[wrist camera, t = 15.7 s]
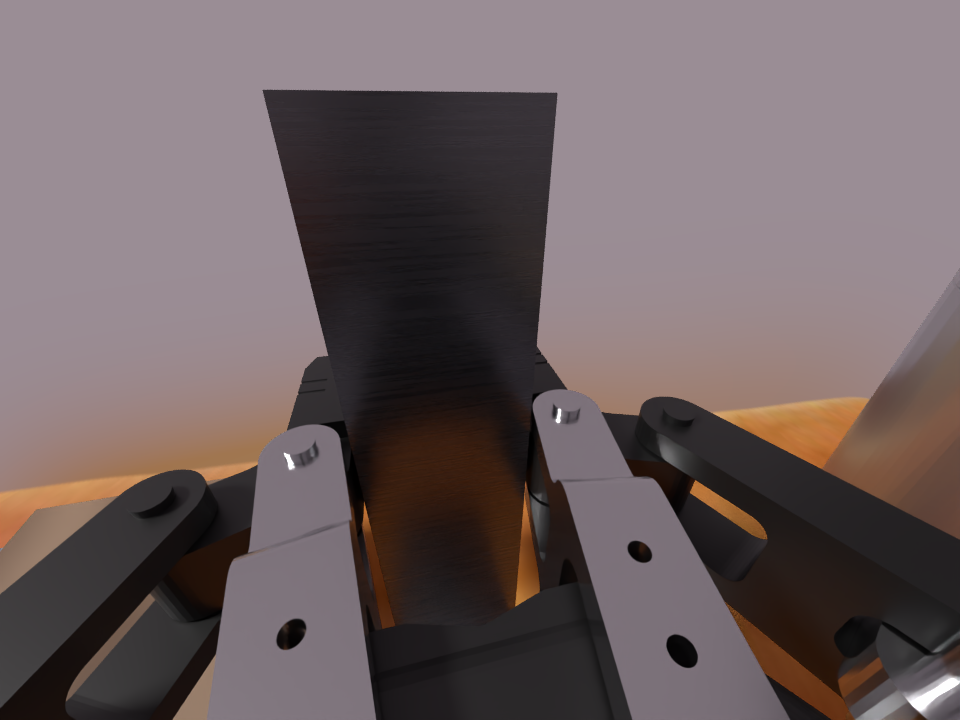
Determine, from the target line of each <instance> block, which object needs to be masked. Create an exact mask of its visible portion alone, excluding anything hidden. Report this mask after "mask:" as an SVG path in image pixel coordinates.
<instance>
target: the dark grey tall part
mask: <svg viewBox="0 0 960 720" xmlns="http://www.w3.org/2000/svg"><path fill="white" fill-rule="evenodd" d="M263 93H264V98H265V102H266V106H267V110H268V114H269V118H270V122H271V126H272V130H273V134H274V138H275V142H276V146H277V150H278V154H279V158H280V162H281V166H282V170H283V174H284V178H285V182H286V187H287V190H288V194H289V199H290V203H291V207H292V211H293V215H294V219H295V223H296V227H297V231H298V235H299V239H300V243H301V247H302V251H303V255H304V259H305V263H306V267H307V271H308V275H309V279H310V283H311V288H312V291H313V296H314V300H315V304H316V308H317V312H318V315H319V320H320V324H321V328H322V332H323V336H324V340H325V344H326V348H327V352H328V356H329V360H330V364H331V368H332V372H333V376H334V380H335V384H336V389H337V393H338V397H339V401H340V405H341V409H342V413H343V417H344V421H345V425H346V429H347V433H348V437H349V441H350V445H351V449H352V453H353V457H354V461H355V465H356V469H357V473H358V477H359V481H360V485H361V489H362V494H363V498H364V502H365V506H366V510H367V514H368V518H369V522H370V526H371V530H372V534H373V538H374V542H375V546H376V550H377V554H378V558H379V562H380V566H381V570H382V574H383V578H384V582H385V586H386V590H387V595H388V599H389V603H390V607H391V611H392V615H393V619H394V623H395V626H398V625H402V624H427V625H451V626H481V625H484V624H487V623H489V622H490V621H492V620H494V619H495V618H497V617H499V616H500V615H502V614H504V613H506V612H507V611H509V610H511V609H512V608H514V607H515V601H516V589H517V577H518V565H519V553H520V541H521V528H522V516H523V504H524V492H525V480H526V468H527V456H528V443H529V431H530V419H531V407H532V395H533V383H534V371H535V359H536V346H537V333H538V322H539V309H540V298H541V286H542V274H543V262H544V260H543V259H544V249H545V237H546V224H547V213H548V201H549V189H550V177H551V165H552V152H553V139H554V128H555V116H556V104H557V93H519V92H422V91H421V92H420V91H415V92H414V91H325V90H324V91H323V90H322V91H321V90H263Z"/></svg>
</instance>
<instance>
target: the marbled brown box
mask: <svg viewBox="0 0 960 720" xmlns="http://www.w3.org/2000/svg"><path fill="white" fill-rule="evenodd" d="M224 479H225V478H224ZM220 480H223V479H218V480H212V481H206V483H207V484H208V485H209V484H212V483H215V482H217V481H220ZM117 497H118V496H116V497H110V498H104V499H98V500H92V501H86V502H80V503H74V504H68V505H62V506H56V507H50V508H44V509H37V510H36V511H35V512H34V513H33V514H32V515H31V516H30V517H29V519H28V520H27V521H26V522H25V523H24V524H23V526H22V527H21V528H20V529H19V530H18V531H17V532H16V534H15V535H14V536H13V537H12V538H11V539H10V541H9V542H8V543H7V544H6V545H5V546H4V547H3V549H2V550H1V551H0V594H1V593H2V592H3V591H5V590H6V589H7V588H8V587H9V586H11V585H12V584H13V583H14V582H15V581H17V580H18V579H19V578H20V577H21V576H23V575H24V574H25V573H26V572H27V571H29V570H30V569H31V568H32V567H33V566H35V565H36V564H37V563H38V562H40V561H41V560H42V559H43V558H44V557H46V556H47V555H48V554H49V553H50V552H52V551H53V550H54V549H55V548H56V547H58V546H59V545H60V544H61V543H62V542H64V541H65V540H66V539H67V538H68V537H70V536H71V535H72V534H73V533H75V532H76V531H77V530H78V529H79V528H81V527H82V526H83V525H84V524H85V523H87V522H88V521H89V520H90V519H91V518H93V517H94V516H95V515H96V514H97V513H99V512H100V511H101V510H102V509H103V508H105V507H106V506H107V505H108V504H109V503H111V502H112V501H113V500H114V499H116V498H117ZM154 601H155V599H154V598H153V597H152V596H151V594H149V595H148V596H147V597H146V598H145V599H144V600H143V602H142V603H141V604H140V605H139V606H138V607H137V608H136V609H135V610H134V612H133V613H132V614H131V615H130V616H129V617H128V618H127V619H126V621H125V622H124V623H123V624H122V625H121V626H120V627H119V628H118V630H117V631H116V632H115V633H114V634H113V635H112V636H111V637H110V639H109V640H108V641H107V642H106V643H105V644H104V645H103V646H102V648H101V649H100V650H99V651H98V652H97V653H96V654H95V655H94V657H93V658H92V659H91V660H90V661H89V662H88V663H87V664H86V666H85V667H84V668H83V669H82V670H81V672H80V673H79V674H78V676H77V677H76V679H75V680H74V682H73V684H72V685H71V687H70V690H69V692H68V695H67V698H66V701H67V700H68V699H69V698H70V697H71V696H72V695H73V694H74V693H75V692H76V691H77V690H78V688H79V687H80V686H81V685H82V684H83V683H84V681H85V680H86V679H87V678H88V677H89V676H90V675H91V673H92V672H93V671H94V670H95V669H96V668H97V666H98V665H99V664H100V663H101V662H102V661H103V660H104V658H105V657H106V656H107V655H108V654H109V653H110V651H111V650H112V649H113V648H114V647H115V646H116V645H117V643H118V642H119V641H120V640H121V639H122V638H123V636H124V635H125V634H126V633H127V632H128V631H129V630H130V628H131V627H132V626H133V625H134V624H135V623H136V621H137V620H138V619H139V618H140V617H141V616H142V615H143V613H144V612H145V611H146V610H147V609H148V608H149V606H150V605H151V604H152V603H153V602H154ZM215 659H216V655H215V657H214V658H213V660H212V661H211V663H210V664H209V666H208V667H207V669H206V670H205V672H204V673H203V675H202V676H201V678H200V679H199V681H198V682H197V684H196V685H195V687H194V688H193V690H192V691H191V693H190V694H189V696H188V697H187V699H186V700H185V702H184V703H183V705H182V706H181V708H180V709H179V711H178V712H177V714H176V715H175V717H174V718H173V720H207V714H208V707H209V700H210V693H211V686H212V679H213V672H214V666H215Z"/></svg>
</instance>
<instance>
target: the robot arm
mask: <svg viewBox="0 0 960 720" xmlns="http://www.w3.org/2000/svg"><path fill="white" fill-rule="evenodd" d="M298 394H299V395H297V398H296V402H295V405H294V409H293V412H292V415H291V418H290V422H289V425H288V429H287V431H286V432H284V433H282V434H280V435H278V436H277V437H275V438H274V439H273V440H272V441H270V442H269V443H268V444H267V445H266V446H265V448H264V449H263V451H262V452H261V454H260V456H259V460H258V465H256V466H254V467H253V468H251V469H248V470H246V471H244V472H241V473H239V474H236V475H233V476H231V477H228V478H225V479H223V480H220V481H217V482H215V483H212V484H209V485H208V484H207V483H206V481H205V479H204V477H203V476H202V475H201V474H199V473H198V472H196V471H192V470H173V471H168V472H164V473H160V474H158V475H155V476H152V477H150V478H147V479H145V480H143V481H141V482H139V483H137V484H135V485H134V486H132V487H131V488H129V489H127V490H126V491H125V492H123V493H122V494H121V495H119V496H118V497H117V498H116V499H114V500H113V501H112V502H111V503H109V504H108V505H107V506H106V507H105V508H103V509H102V510H101V511H100V512H99V513H97V514H96V515H95V516H94V517H93V518H91V519H90V520H89V521H88V522H87V523H85V524H84V525H83V526H82V527H81V528H79V529H78V530H77V531H76V532H75V533H73V534H72V535H71V536H70V537H68V538H67V539H66V540H65V541H64V542H62V543H61V544H60V545H59V546H58V547H56V548H55V549H54V550H53V551H52V552H50V553H49V554H48V555H47V556H46V557H44V558H43V559H42V560H41V561H40V562H38V563H37V564H36V565H35V566H33V567H32V568H31V569H30V570H29V571H27V572H26V573H25V574H24V575H23V576H21V577H20V578H19V579H18V580H17V581H15V582H14V583H13V584H12V585H11V586H9V587H8V588H7V589H6V590H5V591H3V592H2V593H1V594H0V720H173V718H174V717H175V715H176V714H177V712H178V711H179V709H180V708H181V706H182V705H183V703H184V702H185V700H186V699H187V697H188V696H189V694H190V693H191V691H192V690H193V688H194V687H195V685H196V684H197V682H198V681H199V679H200V678H201V676H202V675H203V673H204V672H205V670H206V669H207V667H208V666H209V664H210V663H211V661H212V660H213V658H214V657H215V655H216V659H215V666H214V672H213V679H212V686H211V693H210V700H209V707H208V714H207V720H831V719H830V718H828V717H827V716H825V715H824V714H823V713H821V712H820V711H818V710H817V709H815V708H814V707H812V706H811V705H809V704H808V703H807V702H805V701H804V700H802V699H801V698H799V697H798V696H796V695H795V694H794V693H792V692H791V691H789V690H788V689H786V688H785V687H783V686H782V685H781V684H779V683H778V682H776V681H775V680H773V679H772V678H770V677H769V676H767V675H766V674H765V673H764V672H763V670H762V668H761V667H760V665H759V663H758V661H757V659H756V658H755V656H754V654H753V652H752V650H751V649H750V647H749V645H748V643H747V641H746V640H745V638H744V636H743V634H742V632H741V631H740V629H739V627H738V625H737V624H736V622H735V620H734V618H733V616H732V615H731V613H730V611H729V609H728V607H727V606H726V604H725V602H726V603H727V604H729V605H730V606H731V607H732V608H734V609H735V610H736V611H737V612H738V613H740V614H741V615H742V616H743V617H744V618H746V619H747V620H748V621H749V622H751V623H752V624H753V625H754V626H755V627H757V628H758V629H759V630H760V631H761V632H763V633H764V634H765V635H766V636H768V637H769V638H770V639H771V640H772V641H774V642H775V643H776V644H777V645H778V646H780V647H781V648H782V649H783V650H785V651H786V652H787V653H788V654H789V655H791V656H792V657H793V658H794V659H795V660H797V661H798V662H799V663H800V664H802V665H803V666H804V667H805V668H806V669H808V670H809V671H810V672H811V673H812V674H814V675H815V676H816V677H817V678H819V679H820V680H821V681H822V682H823V683H825V684H826V685H827V686H828V687H829V688H831V689H832V690H833V691H834V692H836V693H837V694H838V695H839V696H840V697H842V698H843V699H844V701H845V703H846V705H847V707H848V709H849V711H848V713H847V715H846V720H960V269H959V270H958V272H957V273H956V275H955V276H954V278H953V280H952V281H951V282H950V284H949V285H948V287H947V288H946V290H945V291H944V293H943V294H942V296H941V297H940V298H939V300H938V301H937V303H936V304H935V306H934V307H933V309H932V310H931V311H930V313H929V315H928V316H927V317H926V319H925V320H924V322H923V323H922V325H921V326H920V328H919V329H918V330H917V332H916V333H915V335H914V336H913V338H912V339H911V340H910V342H909V343H908V345H907V346H906V348H905V349H904V351H903V352H902V354H901V355H900V357H899V358H898V359H897V361H896V362H895V364H894V365H893V367H892V368H891V370H890V371H889V373H888V374H887V375H886V377H885V378H884V380H883V381H882V383H881V384H880V385H879V387H878V389H877V390H876V391H875V393H874V395H873V396H872V397H871V399H870V400H869V401H868V403H867V404H866V406H865V407H864V409H863V410H862V412H861V413H860V414H859V416H858V417H857V419H856V420H855V422H854V423H853V425H852V426H851V428H850V429H849V430H848V432H847V433H846V435H845V436H844V438H843V439H842V441H841V442H840V444H839V445H838V446H837V448H836V449H835V451H834V452H833V454H832V455H831V456H830V458H829V459H828V461H827V462H826V464H825V465H824V467H823V468H822V469H820V468H818V467H816V466H814V465H812V464H810V463H809V462H807V461H805V460H803V459H801V458H799V457H797V456H795V455H793V454H791V453H789V452H787V451H785V450H783V449H781V448H779V447H777V446H775V445H773V444H771V443H769V442H767V441H765V440H763V439H761V438H759V437H758V436H756V435H754V434H752V433H750V432H748V431H746V430H744V429H742V428H740V427H738V426H736V425H734V424H732V423H730V422H728V421H726V420H724V419H722V418H720V417H718V416H716V415H714V414H712V413H710V412H708V411H707V410H704V409H703V408H701V407H699V406H697V405H694V404H693V403H690V402H688V401H685V400H682V399H678V398H673V397H655V398H651V399H649V400H647V401H645V402H644V403H643V405H642V407H641V410H640V413H639V416H636V415H623V414H611V413H604V412H601V411H600V409H599V407H598V405H597V404H596V403H595V402H594V401H593V400H592V399H590V398H589V397H587V396H586V395H584V394H581V393H579V392H575V391H571V390H567V388H566V387H565V386H564V384H563V383H562V381H561V380H560V378H559V377H558V376H557V374H556V373H555V371H554V370H553V369H552V367H551V366H550V364H549V363H547V360H546V359H545V357H544V356H543V355H541V352H540V350H539V349H538V347H537V346H536V359H535V371H534V383H533V395H532V407H531V419H530V431H529V443H528V456H527V468H526V480H525V481H526V489H525V500H526V505H527V511H528V516H529V522H530V527H531V533H532V539H533V544H534V550H535V555H536V561H537V566H538V572H539V582H540V592H539V593H538V594H536V595H534V596H533V597H531V598H529V599H528V600H526V601H524V602H522V603H521V604H519V605H517V606H516V607H514V608H512V609H511V610H509V611H507V612H506V613H504V614H502V615H500V616H499V617H497V618H495V619H494V620H492V621H490V622H489V623H487V624H484V625H481V626H451V625H427V624H402V625H398V626H394V627H390V628H386V629H382V626H381V622H380V617H379V612H378V606H377V601H376V595H375V589H374V584H373V578H372V572H371V567H370V561H369V555H368V549H367V544H366V538H365V532H364V528H363V524H362V523H363V514H364V498H363V494H362V489H361V485H360V481H359V477H358V473H357V469H356V465H355V461H354V457H353V453H352V449H351V445H350V441H349V437H348V433H347V429H346V425H345V421H344V417H343V413H342V409H341V405H340V401H339V397H338V393H337V389H336V384H335V380H334V376H333V372H332V368H331V364H330V360H329V356H324V357H317V358H316V359H315V360H314V361H313V362H312V363H311V364H310V365H309V366H308V367H307V368H306V369H305V371H304V375H303V378H302V384H301V385H300V388H299V391H298ZM695 480H696V481H698V482H700V483H701V484H703V485H704V486H706V487H707V488H709V489H710V490H712V491H713V492H715V493H717V494H718V495H720V496H721V497H723V498H724V499H726V500H727V501H729V502H730V503H732V504H734V505H735V506H737V507H738V508H740V509H741V510H743V511H744V512H746V513H748V514H749V515H751V516H752V517H753V518H755V519H756V520H757V521H758V522H759V523H760V524H761V525H762V527H763V528H764V530H765V531H766V534H767V538H768V540H765V539H760V538H757V537H755V536H753V535H751V534H749V533H748V532H747V531H745V530H744V529H742V528H741V527H739V526H738V525H736V524H735V523H733V522H732V521H730V520H729V519H727V518H726V517H724V516H723V515H721V514H720V513H718V512H717V511H716V510H714V509H713V508H711V507H710V506H708V505H707V504H705V503H704V502H702V501H701V500H699V499H698V498H696V497H695V496H693V495H692V494H690V491H691V489H692V486H693V484H694V482H695ZM149 594H151V596H152V597H153V598H154V599H155V601H154V602H153V603H152V604H151V605H150V606H149V608H148V609H147V610H146V611H145V612H144V613H143V615H142V616H141V617H140V618H139V619H138V620H137V621H136V623H135V624H134V625H133V626H132V627H131V628H130V630H129V631H128V632H127V633H126V634H125V635H124V636H123V638H122V639H121V640H120V641H119V642H118V643H117V645H116V646H115V647H114V648H113V649H112V650H111V651H110V653H109V654H108V655H107V656H106V657H105V658H104V660H103V661H102V662H101V663H100V664H99V665H98V666H97V668H96V669H95V670H94V671H93V672H92V673H91V675H90V676H89V677H88V678H87V679H86V680H85V681H84V683H83V684H82V685H81V686H80V687H79V688H78V690H77V691H76V692H75V693H74V694H73V695H72V696H71V697H70V698H69V699H68V700H67V701H66V698H67V695H68V692H69V690H70V687H71V685H72V684H73V682H74V680H75V679H76V677H77V676H78V674H79V673H80V672H81V670H82V669H83V668H84V667H85V666H86V664H87V663H88V662H89V661H90V660H91V659H92V658H93V657H94V655H95V654H96V653H97V652H98V651H99V650H100V649H101V648H102V646H103V645H104V644H105V643H106V642H107V641H108V640H109V639H110V637H111V636H112V635H113V634H114V633H115V632H116V631H117V630H118V628H119V627H120V626H121V625H122V624H123V623H124V622H125V621H126V619H127V618H128V617H129V616H130V615H131V614H132V613H133V612H134V610H135V609H136V608H137V607H138V606H139V605H140V604H141V603H142V602H143V600H144V599H145V598H146V597H147V596H148V595H149ZM724 601H725V602H724Z"/></svg>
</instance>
